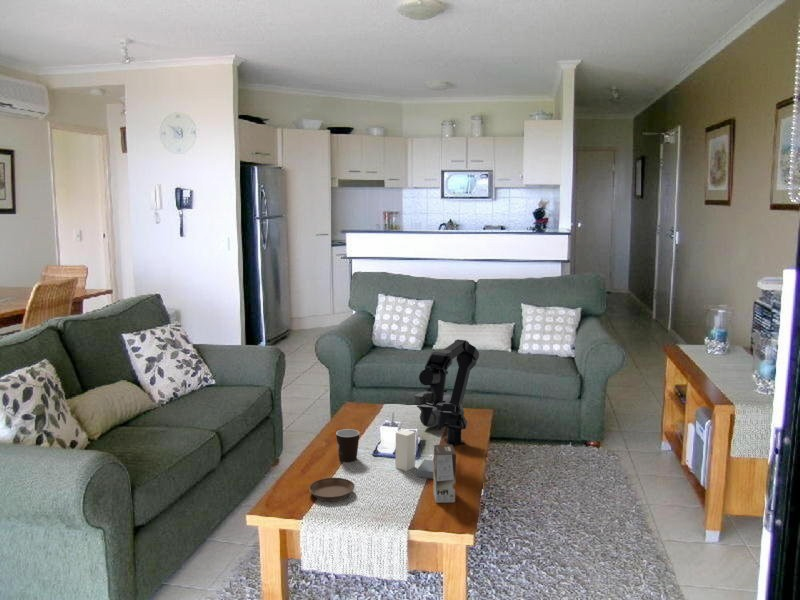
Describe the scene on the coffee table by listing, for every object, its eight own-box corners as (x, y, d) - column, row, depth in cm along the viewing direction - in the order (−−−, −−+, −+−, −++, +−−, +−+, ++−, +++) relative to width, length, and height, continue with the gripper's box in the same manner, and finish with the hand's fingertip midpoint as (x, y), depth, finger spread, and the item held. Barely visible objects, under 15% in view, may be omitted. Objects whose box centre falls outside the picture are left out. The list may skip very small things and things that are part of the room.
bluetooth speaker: (439, 432, 283) (439, 408, 281) (418, 428, 287) (418, 405, 285) (458, 416, 303) (458, 394, 302) (438, 413, 307) (439, 392, 306)
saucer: (313, 506, 214) (313, 498, 213) (305, 487, 228) (305, 480, 227) (359, 501, 218) (359, 493, 217) (349, 483, 232) (349, 475, 232)
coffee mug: (356, 464, 248) (356, 437, 246) (333, 462, 249) (333, 436, 248) (364, 452, 259) (364, 427, 257) (342, 451, 261) (342, 425, 259)
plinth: (424, 466, 246) (424, 459, 246) (451, 469, 244) (451, 462, 243) (416, 476, 237) (417, 469, 237) (445, 480, 234) (445, 473, 234)
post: (403, 463, 249) (404, 429, 247) (414, 466, 246) (415, 432, 244) (395, 467, 245) (395, 432, 243) (406, 471, 242) (407, 435, 240)
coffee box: (455, 502, 217) (456, 454, 215) (435, 503, 216) (436, 454, 214) (451, 490, 226) (452, 444, 224) (432, 491, 226) (433, 444, 223)
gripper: (405, 381, 258) (400, 422, 257) (433, 387, 242) (428, 431, 241) (429, 383, 264) (424, 424, 262) (458, 389, 248) (453, 432, 247)
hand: (432, 427), depth 253 cm, fingers open, 9 cm apart
